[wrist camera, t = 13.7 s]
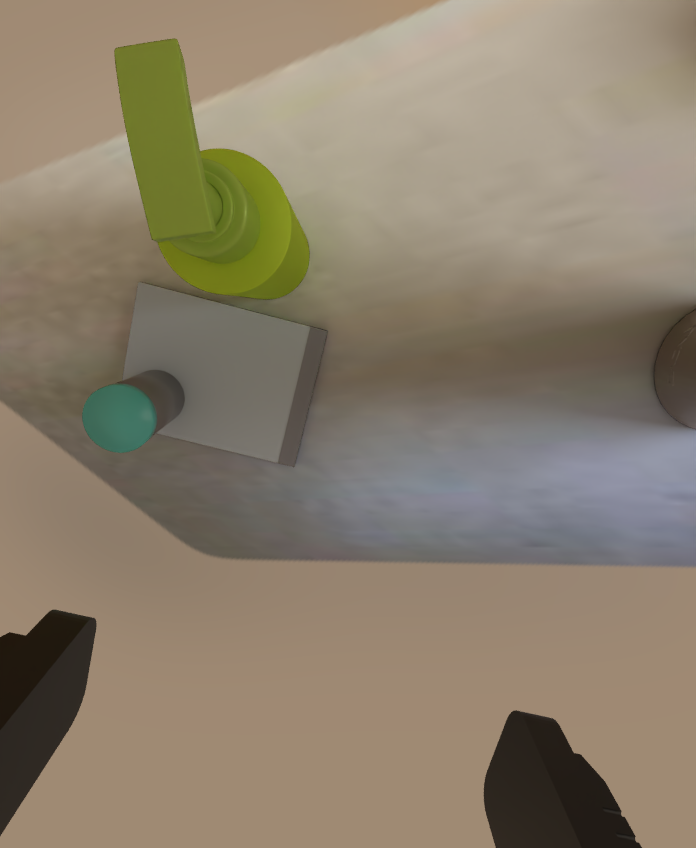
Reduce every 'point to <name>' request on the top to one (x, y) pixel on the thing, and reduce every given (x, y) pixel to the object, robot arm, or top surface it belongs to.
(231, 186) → the soap dispenser
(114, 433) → the marker
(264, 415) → the notepad
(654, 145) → the top surface
